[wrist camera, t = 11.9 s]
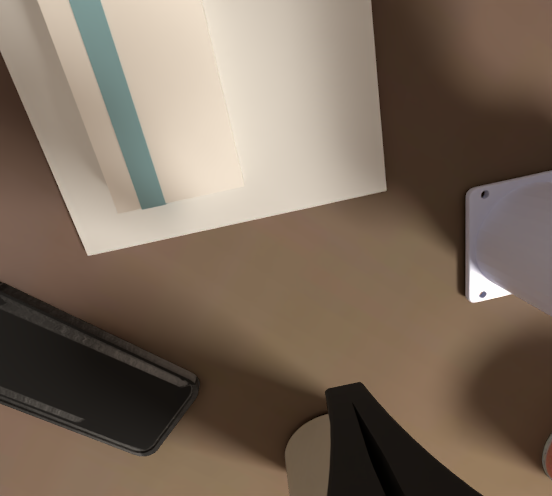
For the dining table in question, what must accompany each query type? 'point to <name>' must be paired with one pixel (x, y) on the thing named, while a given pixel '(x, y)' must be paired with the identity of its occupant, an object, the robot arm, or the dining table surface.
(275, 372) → the dining table surface
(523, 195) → the robot arm
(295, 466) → the travel mug
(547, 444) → the canned food
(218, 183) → the card deck
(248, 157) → the mat
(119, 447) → the phone
